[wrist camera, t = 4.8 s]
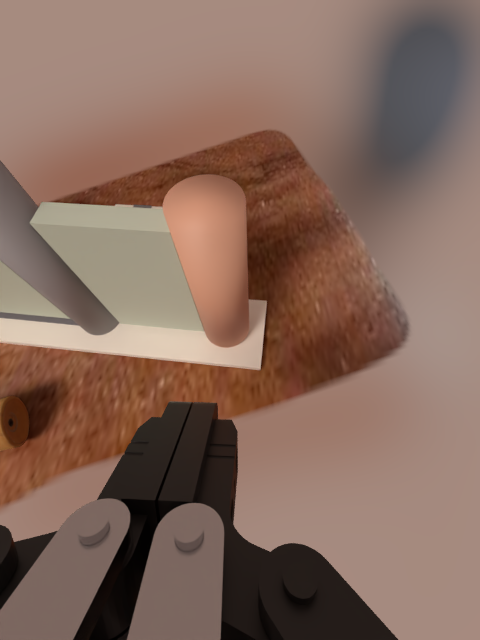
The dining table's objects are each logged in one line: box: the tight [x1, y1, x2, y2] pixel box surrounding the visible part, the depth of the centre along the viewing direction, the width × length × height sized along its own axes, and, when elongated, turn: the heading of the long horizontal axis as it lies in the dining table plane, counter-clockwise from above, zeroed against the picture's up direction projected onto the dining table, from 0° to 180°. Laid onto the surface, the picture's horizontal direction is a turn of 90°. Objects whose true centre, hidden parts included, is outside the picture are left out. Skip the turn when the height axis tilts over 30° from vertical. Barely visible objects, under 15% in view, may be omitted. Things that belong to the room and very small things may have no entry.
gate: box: [30, 174, 249, 348], centre depth 16 cm, size 9×3×10 cm, turn 83°
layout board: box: [0, 204, 267, 370], centre depth 23 cm, size 24×14×1 cm, turn 83°
